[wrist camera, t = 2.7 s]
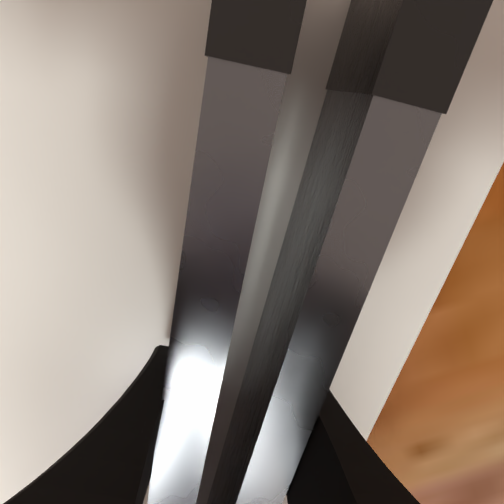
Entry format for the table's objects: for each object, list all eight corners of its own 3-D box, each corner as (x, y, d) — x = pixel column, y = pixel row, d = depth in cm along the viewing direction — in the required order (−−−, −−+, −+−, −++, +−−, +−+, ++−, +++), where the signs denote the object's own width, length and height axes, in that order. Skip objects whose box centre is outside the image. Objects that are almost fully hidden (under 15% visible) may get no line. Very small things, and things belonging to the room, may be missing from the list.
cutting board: (301, 540, 18) (304, 565, 17) (-37, 502, 16) (-53, 528, 16) (593, -84, 9) (633, -102, 8) (-111, -334, 7) (-163, -393, 6)
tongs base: (220, 554, 17) (216, 683, 13) (145, 547, 17) (120, 677, 13) (405, 10, 9) (522, -37, 5) (267, -31, 8) (289, -114, 5)
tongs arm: (185, 511, 15) (171, 628, 12) (152, 508, 15) (128, 625, 12) (291, -25, 8) (326, -93, 5) (231, -40, 8) (227, -120, 5)
